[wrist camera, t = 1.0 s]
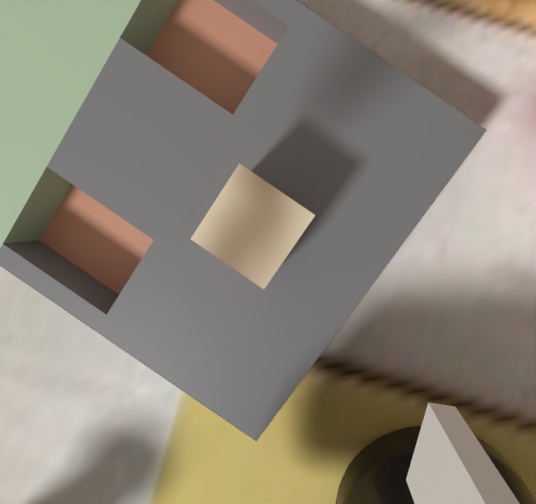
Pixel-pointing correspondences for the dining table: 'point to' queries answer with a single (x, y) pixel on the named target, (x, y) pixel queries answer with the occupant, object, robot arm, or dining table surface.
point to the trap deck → (208, 178)
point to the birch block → (252, 226)
